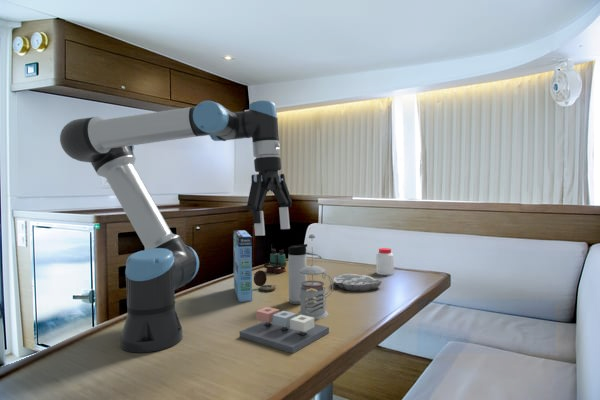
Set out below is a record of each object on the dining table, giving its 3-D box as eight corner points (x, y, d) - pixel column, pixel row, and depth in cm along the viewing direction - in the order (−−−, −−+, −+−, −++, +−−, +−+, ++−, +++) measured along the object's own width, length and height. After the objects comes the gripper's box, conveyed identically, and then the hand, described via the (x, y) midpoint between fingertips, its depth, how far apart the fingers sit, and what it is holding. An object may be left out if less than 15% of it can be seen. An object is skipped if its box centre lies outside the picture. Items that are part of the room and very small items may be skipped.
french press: (292, 311, 125) (291, 233, 124) (326, 307, 129) (325, 231, 128) (304, 321, 116) (302, 237, 115) (339, 316, 120) (338, 234, 119)
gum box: (233, 288, 155) (232, 230, 154) (246, 287, 156) (245, 230, 155) (238, 302, 136) (237, 236, 135) (253, 301, 137) (252, 236, 136)
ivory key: (304, 338, 99) (304, 322, 98) (290, 334, 101) (290, 319, 101) (314, 332, 102) (314, 317, 102) (300, 329, 105) (300, 314, 105)
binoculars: (260, 252, 179) (272, 247, 188) (262, 274, 181) (274, 268, 189) (275, 254, 175) (288, 248, 183) (277, 277, 176) (289, 270, 184)
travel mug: (306, 305, 131) (305, 245, 131) (287, 304, 133) (286, 245, 132) (309, 299, 138) (308, 243, 137) (291, 298, 139) (290, 242, 138)
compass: (266, 293, 147) (266, 274, 147) (253, 289, 152) (252, 271, 152) (282, 289, 153) (281, 270, 152) (268, 285, 158) (267, 267, 158)
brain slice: (322, 286, 156) (322, 279, 156) (350, 279, 168) (350, 272, 168) (360, 296, 142) (360, 288, 142) (388, 287, 153) (388, 280, 153)
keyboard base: (292, 353, 94) (292, 347, 94) (239, 336, 104) (239, 331, 104) (329, 332, 106) (328, 327, 106) (278, 319, 117) (278, 314, 117)
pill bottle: (373, 272, 180) (373, 248, 179) (388, 270, 182) (388, 247, 181) (381, 275, 172) (381, 250, 172) (397, 274, 175) (397, 249, 174)
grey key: (285, 333, 102) (285, 317, 102) (272, 329, 105) (272, 314, 105) (296, 328, 106) (296, 313, 106) (283, 324, 108) (283, 310, 108)
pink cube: (268, 328, 106) (268, 313, 106) (256, 325, 108) (256, 310, 108) (279, 323, 109) (279, 309, 109) (267, 320, 112) (267, 306, 112)
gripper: (252, 153, 98) (260, 238, 98) (299, 157, 120) (305, 226, 120) (228, 157, 101) (235, 238, 102) (278, 159, 123) (284, 226, 124)
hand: (273, 232), depth 111 cm, fingers open, 13 cm apart
